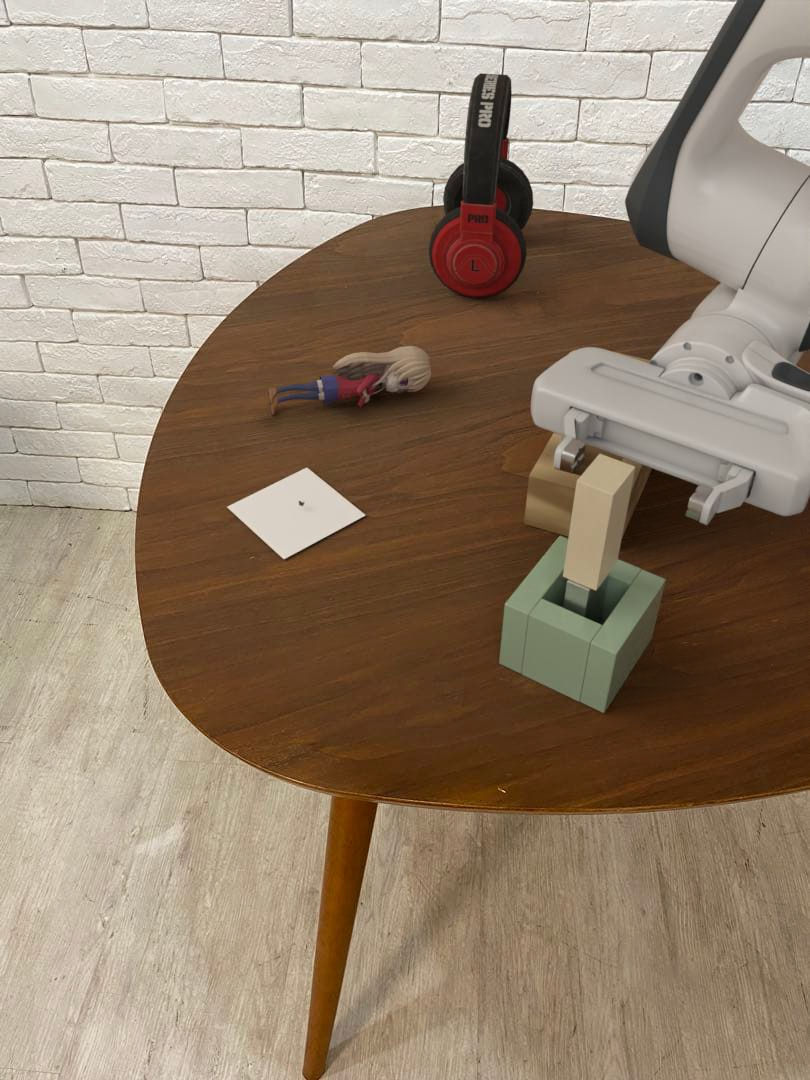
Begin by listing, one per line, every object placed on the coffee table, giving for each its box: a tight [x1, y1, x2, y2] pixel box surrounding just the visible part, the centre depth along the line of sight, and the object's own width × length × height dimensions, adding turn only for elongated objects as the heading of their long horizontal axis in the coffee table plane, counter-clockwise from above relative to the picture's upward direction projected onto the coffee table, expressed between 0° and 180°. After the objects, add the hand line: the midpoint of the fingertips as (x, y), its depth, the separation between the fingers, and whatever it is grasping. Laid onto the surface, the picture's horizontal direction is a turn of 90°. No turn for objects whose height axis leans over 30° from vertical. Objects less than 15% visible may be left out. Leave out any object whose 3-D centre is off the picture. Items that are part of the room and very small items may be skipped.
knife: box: [563, 454, 635, 624], centre depth 68 cm, size 2×4×16 cm, turn 147°
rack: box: [523, 351, 653, 541], centre depth 87 cm, size 20×8×5 cm, turn 156°
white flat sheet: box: [226, 467, 366, 560], centre depth 84 cm, size 8×8×1 cm
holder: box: [498, 535, 667, 714], centre depth 72 cm, size 8×8×6 cm
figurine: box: [266, 345, 432, 416], centre depth 94 cm, size 6×4×15 cm
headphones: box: [428, 72, 534, 299], centre depth 108 cm, size 18×10×20 cm, turn 172°
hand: (628, 487), depth 68 cm, fingers open, 8 cm apart
